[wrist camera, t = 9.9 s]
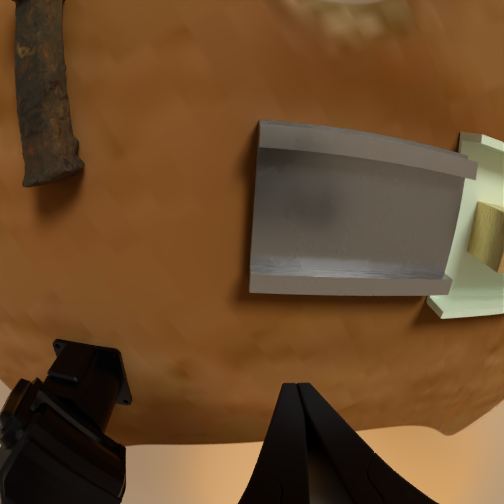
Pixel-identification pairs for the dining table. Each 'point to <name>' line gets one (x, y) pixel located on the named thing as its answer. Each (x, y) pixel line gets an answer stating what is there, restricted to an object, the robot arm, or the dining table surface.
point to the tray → (460, 261)
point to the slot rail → (352, 212)
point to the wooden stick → (43, 94)
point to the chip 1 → (488, 236)
